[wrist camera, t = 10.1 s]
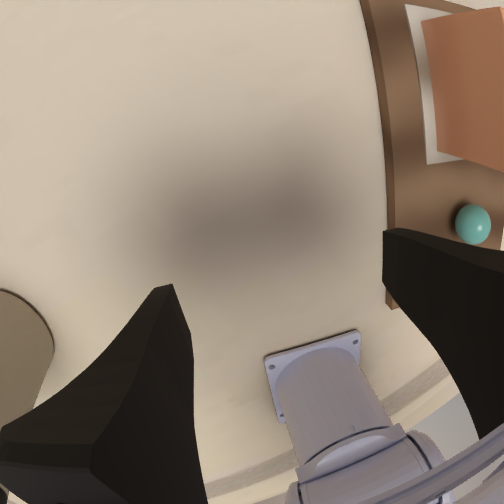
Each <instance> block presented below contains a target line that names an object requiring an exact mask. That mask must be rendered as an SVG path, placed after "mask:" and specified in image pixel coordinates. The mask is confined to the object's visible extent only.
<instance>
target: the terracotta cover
mask: <svg viewBox="0 0 504 504" xmlns="http://www.w3.org/2000/svg"><path fill="white" fill-rule="evenodd" d="M421 26H422V31H423V35H424V40H425V46H426V51H427V57H428V63H429V69H430V76H431V84H432V92H433V101H434V111H435V123H436V139H437V151H439V152H442V153H446V154H449V155H453V156H456V157H459V158H462V159H466V160H469V161H472V162H475V163H478V164H481V165H484V166H487V167H490V168H492V169H495V170H498V171H501V172H504V8H502V7H493V8H485V9H479V10H472V11H466V12H461V13H455V14H450V15H445V16H441V17H436V18H432V19H428V20H423V21H421Z"/></svg>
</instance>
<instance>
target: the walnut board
mask: <svg viewBox="0 0 504 504" xmlns="http://www.w3.org/2000/svg"><path fill="white" fill-rule="evenodd" d="M360 3H361V7H362V11H363V16H364V20H365V24H366V29H367V34H368V38H369V43H370V48H371V54H372V59H373V65H374V71H375V77H376V83H377V90H378V97H379V105H380V113H381V121H382V131H383V141H384V152H385V166H386V183H387V210H388V230H390V229H393V228H405V229H411V230H415V231H419V232H423V233H427V234H431V235H435V236H438V237H442V238H446V239H450V240H453V241H457V242H461V243H465V242H464V241H462V240H461V239H460V237H459V236H458V234H457V232H456V229H455V219H456V216H457V213H458V212H459V210H460V209H461V208H462V207H464V206H466V205H468V204H476V205H479V206H481V207H483V208H484V209H485V210H486V211H487V213H488V215H489V217H490V220H491V230H490V233H489V235H488V237H487V238H486V239H485V240H484V241H483V242H482V243H480V244H476V245H474V246H478V247H483V248H489V249H495V250H500V247H501V241H502V234H503V227H504V172H501V171H498V170H495V169H492V168H490V167H487V166H484V165H481V164H478V163H475V162H472V161H469V160H466V159H462V158H459V157H456V156H453V155H449V154H446V153H442V152H439V151H437V139H436V123H435V111H434V101H433V92H432V84H431V76H430V69H429V63H428V57H427V51H426V46H425V40H424V35H423V31H422V26H421V21H423V20H428V19H432V18H436V17H441V16H445V15H450V14H455V13H461V12H466V11H472V10H475V9H472V8H469V7H466V6H462V5H459V4H455V3H452V2H448V1H444V0H360ZM466 244H467V243H466ZM470 245H471V244H470ZM386 304H387V305H388V306H389V308H390V309H391V310H393V309H396V308H399V306H398V304H397V303H396V302H395V301H394V299H393V298H392V296H391V295H390V293H389V292H388V290H386Z"/></svg>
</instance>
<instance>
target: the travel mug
mask: <svg viewBox="0 0 504 504" xmlns="http://www.w3.org/2000/svg"><path fill="white" fill-rule="evenodd" d="M53 353H54V347H53V341H52V338H51V335H50V333H49V331H48V329H47V327H46V325H45V324H44V322H43V321H42V319H41V318H40V317H39V316H38V315H37V313H36V312H35V311H34V310H33V309H32V308H31V307H29V306H28V305H27V304H26V303H25V302H23V301H22V300H20V299H19V298H17V297H15V296H13V295H11V294H9V293H6V292H3V291H0V431H1V428H2V426H4V425H6V424H8V423H10V422H12V421H13V420H15V419H17V418H19V417H20V416H22V415H24V414H26V413H28V412H29V411H31V410H33V407H34V404H35V401H36V399H37V396H38V393H39V390H40V388H41V385H42V383H43V380H44V377H45V375H46V372H47V370H48V367H49V365H50V363H51V360H52V358H53ZM8 494H9V490H8V489H7V488H5V487H4V486H3V485H2V484H0V504H7V499H8Z"/></svg>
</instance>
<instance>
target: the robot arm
mask: <svg viewBox="0 0 504 504" xmlns="http://www.w3.org/2000/svg"><path fill="white" fill-rule="evenodd" d="M382 282H383V284H384V285H385V287H386V288H387V290H388V292H389V293H390V295H391V296H392V298H393V299H394V301H395V302H396V303H397V304H398V306H399V307H400V308H401V309H402V310H403V312H404V313H405V314H406V315H407V316H408V317H409V318H410V320H411V321H412V322H413V323H414V324H415V325H416V327H417V328H418V329H419V330H420V331H421V332H422V334H423V335H424V336H425V337H426V338H427V339H428V341H429V342H430V343H431V344H432V346H433V347H434V348H435V350H436V351H437V353H438V354H439V356H440V357H441V359H442V360H443V362H444V364H445V365H446V367H447V369H448V370H449V372H450V374H451V376H452V377H453V379H454V381H455V383H456V385H457V387H458V389H459V390H460V393H461V395H462V397H463V399H464V401H465V403H466V406H467V408H468V410H469V412H470V415H471V417H472V420H473V423H474V425H475V428H476V431H477V434H478V437H479V441H477V442H476V443H474V444H473V445H471V446H470V447H468V448H467V449H465V450H464V451H462V452H460V453H459V454H457V455H456V456H454V457H452V458H451V459H449V460H447V461H445V459H444V457H443V456H442V453H441V452H440V450H439V449H438V447H437V446H436V444H435V443H434V442H433V440H432V439H431V438H430V437H429V436H428V435H426V434H424V433H421V432H418V431H416V430H411V431H409V432H407V433H405V431H404V430H403V428H402V426H401V425H400V423H397V424H395V425H393V423H392V421H391V420H390V418H389V416H388V414H387V413H386V411H385V409H384V408H383V406H382V404H381V402H380V401H379V399H378V397H377V396H376V394H375V392H374V390H373V389H372V387H371V385H370V384H369V382H368V380H367V379H366V377H365V375H364V374H363V372H362V370H361V369H360V367H359V366H360V346H361V334H360V332H359V331H358V330H354V331H351V332H348V333H345V334H342V335H339V336H335V337H332V338H329V339H326V340H323V341H319V342H316V343H313V344H309V345H306V346H302V347H299V348H295V349H292V350H288V351H285V352H281V353H277V354H273V355H270V356H267V357H266V358H265V359H264V364H265V368H266V372H267V377H268V381H269V385H270V389H271V393H272V397H273V401H274V405H275V409H276V414H277V418H278V421H279V423H286V424H287V428H288V431H289V434H290V437H291V440H292V443H293V447H294V450H295V453H296V456H297V459H298V462H299V465H300V467H298V468H296V469H295V470H296V473H297V477H298V480H299V481H296V482H293V483H291V484H290V486H289V489H288V491H287V493H286V495H285V504H504V461H503V462H502V463H501V464H500V465H499V466H498V467H497V469H496V470H495V471H493V472H492V474H490V475H489V476H488V477H487V478H486V479H485V480H484V481H483V482H482V484H481V485H480V486H478V487H477V488H475V489H474V490H472V491H471V492H469V493H468V494H466V495H465V496H464V497H462V498H460V499H459V500H457V501H455V498H454V494H453V491H452V489H454V488H455V487H457V486H459V485H460V484H462V483H464V482H465V481H467V480H468V479H470V478H471V477H472V476H474V475H475V474H477V473H479V472H480V471H481V470H483V469H484V468H486V467H487V466H488V465H490V464H491V463H493V462H494V461H495V460H497V459H498V458H499V457H501V456H502V455H503V454H504V251H501V250H495V249H489V248H483V247H478V246H474V245H470V244H466V243H461V242H457V241H453V240H450V239H446V238H442V237H438V236H435V235H431V234H427V233H423V232H419V231H415V230H411V229H405V228H393V229H390V230H386V231H383V269H382ZM354 340H355V341H354ZM270 365H273V366H270ZM0 484H2V485H3V486H4V487H5V488H7V489H8V490H9V491H10V492H12V493H13V494H15V495H16V496H17V497H19V498H20V499H22V500H23V501H25V502H26V503H28V504H208V501H207V496H206V492H205V487H204V483H203V478H202V473H201V467H200V461H199V456H198V449H197V442H196V435H195V428H194V357H193V348H192V340H191V333H190V330H189V327H188V325H187V322H186V320H185V317H184V314H183V312H182V309H181V306H180V304H179V301H178V298H177V295H176V293H175V290H174V287H173V284H169V285H165V286H161V287H156V288H154V289H153V290H152V291H151V292H150V294H149V295H148V296H147V298H146V299H145V300H144V302H143V303H142V304H141V306H140V307H139V308H138V310H137V311H136V312H135V314H134V315H133V316H132V318H131V319H130V320H129V322H128V323H127V324H126V326H125V327H124V328H123V329H122V330H121V332H120V333H119V334H118V335H117V336H116V338H115V339H114V340H113V341H112V342H111V344H110V345H109V346H108V347H107V348H106V349H105V350H104V351H103V352H102V354H101V355H100V356H99V357H98V358H97V359H96V360H95V361H94V362H93V363H92V364H91V365H90V366H89V367H87V368H86V369H85V370H84V371H83V372H82V373H81V374H79V375H78V376H77V377H76V378H75V379H74V380H72V381H71V382H70V383H69V384H68V385H67V386H65V387H64V388H63V389H62V390H60V391H59V392H58V393H56V394H55V395H53V396H52V397H51V398H49V399H48V400H46V401H45V402H43V403H42V404H40V405H39V406H37V407H36V408H34V409H33V410H31V411H29V412H28V413H26V414H24V415H22V416H20V417H19V418H17V419H15V420H13V421H12V422H10V423H8V424H6V425H4V426H2V428H1V431H0Z"/></svg>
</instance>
